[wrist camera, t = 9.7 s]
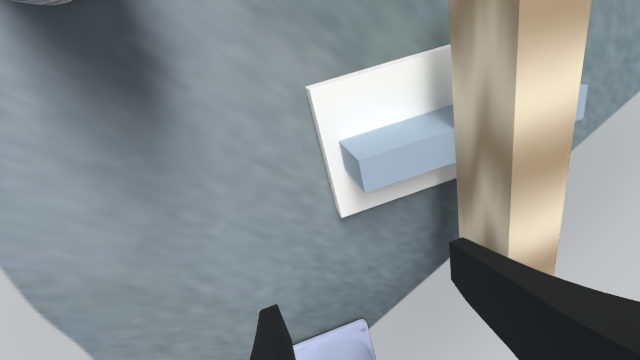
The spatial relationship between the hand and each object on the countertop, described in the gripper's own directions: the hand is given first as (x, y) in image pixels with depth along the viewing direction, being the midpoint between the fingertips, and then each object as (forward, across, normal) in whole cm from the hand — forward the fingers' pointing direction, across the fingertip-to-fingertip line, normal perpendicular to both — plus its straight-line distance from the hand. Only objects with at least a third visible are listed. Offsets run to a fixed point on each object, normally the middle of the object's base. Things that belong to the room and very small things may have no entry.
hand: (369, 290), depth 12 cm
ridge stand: (+10, -9, -2) cm, 14 cm away
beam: (+6, -9, -2) cm, 11 cm away
